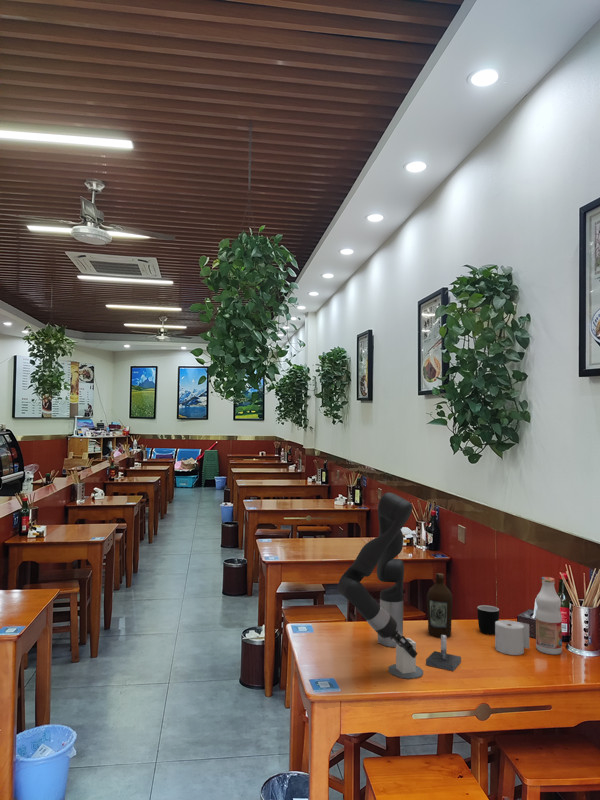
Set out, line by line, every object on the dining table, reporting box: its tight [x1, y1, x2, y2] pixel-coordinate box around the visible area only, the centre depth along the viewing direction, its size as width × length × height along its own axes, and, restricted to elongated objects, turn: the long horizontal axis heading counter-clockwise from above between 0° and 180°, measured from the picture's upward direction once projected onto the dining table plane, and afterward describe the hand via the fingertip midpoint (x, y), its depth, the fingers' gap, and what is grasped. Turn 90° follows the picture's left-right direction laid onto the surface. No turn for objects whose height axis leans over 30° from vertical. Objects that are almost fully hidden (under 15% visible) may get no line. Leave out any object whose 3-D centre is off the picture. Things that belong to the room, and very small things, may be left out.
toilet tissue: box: [494, 619, 531, 656], centre depth 223 cm, size 11×12×10 cm
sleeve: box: [395, 637, 417, 674], centre depth 199 cm, size 5×5×10 cm
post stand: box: [425, 635, 462, 672], centre depth 207 cm, size 10×10×10 cm
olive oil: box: [426, 572, 454, 639], centre depth 240 cm, size 11×11×25 cm
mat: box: [388, 663, 424, 680], centre depth 198 cm, size 12×12×1 cm
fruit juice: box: [535, 576, 563, 655], centre depth 223 cm, size 9×9×28 cm
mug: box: [476, 604, 500, 636], centre depth 245 cm, size 12×9×10 cm
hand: (410, 652), depth 199 cm, fingers open, 6 cm apart
